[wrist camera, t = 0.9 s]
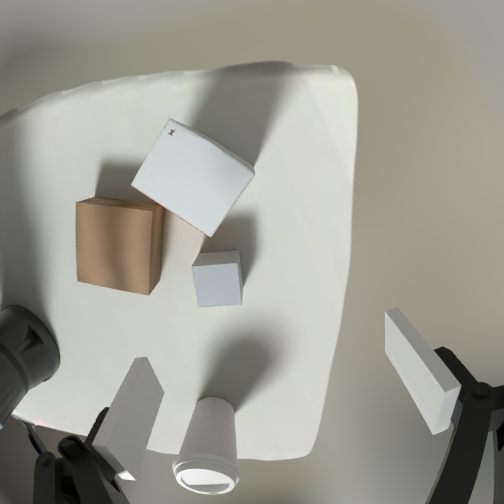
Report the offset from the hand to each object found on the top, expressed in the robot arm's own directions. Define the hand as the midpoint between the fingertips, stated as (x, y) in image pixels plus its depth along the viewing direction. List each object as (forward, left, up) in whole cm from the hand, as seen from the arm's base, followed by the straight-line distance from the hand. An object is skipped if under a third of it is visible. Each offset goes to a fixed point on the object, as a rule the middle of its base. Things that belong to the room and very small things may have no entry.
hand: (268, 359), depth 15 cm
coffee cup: (-2, -29, -23) cm, 38 cm away
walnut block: (-17, -2, -23) cm, 29 cm away
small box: (-7, +8, -23) cm, 25 cm away
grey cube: (-4, -4, -23) cm, 24 cm away
